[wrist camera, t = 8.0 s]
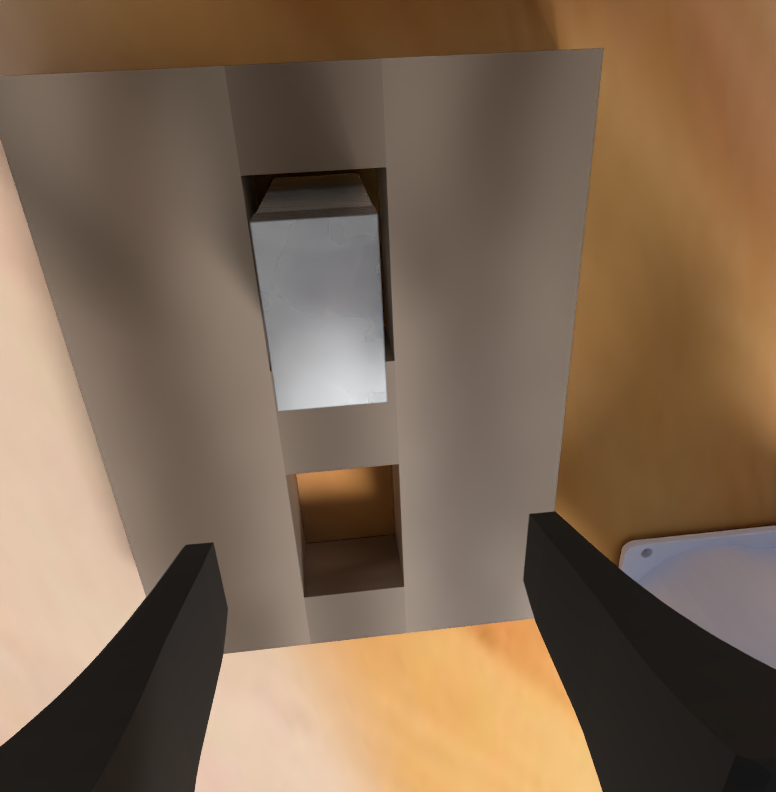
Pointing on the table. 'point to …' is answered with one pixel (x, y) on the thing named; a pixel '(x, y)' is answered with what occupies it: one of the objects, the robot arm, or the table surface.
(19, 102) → the post foot
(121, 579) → the table surface
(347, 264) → the brushed metal block
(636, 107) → the table surface
